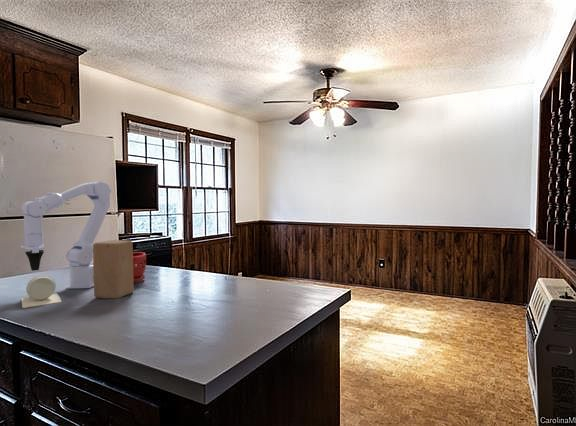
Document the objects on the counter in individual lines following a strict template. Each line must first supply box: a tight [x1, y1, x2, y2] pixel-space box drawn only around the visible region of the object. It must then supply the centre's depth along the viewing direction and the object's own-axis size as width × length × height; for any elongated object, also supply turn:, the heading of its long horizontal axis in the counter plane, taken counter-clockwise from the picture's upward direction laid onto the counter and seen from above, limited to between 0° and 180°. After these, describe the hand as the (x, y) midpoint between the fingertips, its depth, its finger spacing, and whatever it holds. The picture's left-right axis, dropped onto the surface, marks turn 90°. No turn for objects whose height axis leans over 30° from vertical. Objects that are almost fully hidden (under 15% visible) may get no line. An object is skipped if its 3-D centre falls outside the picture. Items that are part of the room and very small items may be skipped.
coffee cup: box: [25, 275, 56, 300], centre depth 132 cm, size 9×9×12 cm
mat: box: [20, 293, 63, 309], centre depth 129 cm, size 14×11×1 cm
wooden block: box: [92, 239, 135, 300], centre depth 136 cm, size 10×10×20 cm
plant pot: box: [133, 251, 147, 284], centre depth 159 cm, size 13×13×12 cm
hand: (35, 270), depth 137 cm, fingers closed
